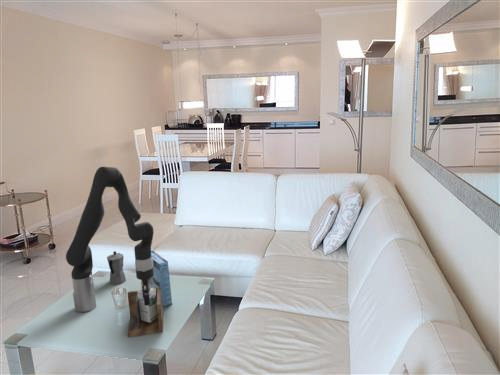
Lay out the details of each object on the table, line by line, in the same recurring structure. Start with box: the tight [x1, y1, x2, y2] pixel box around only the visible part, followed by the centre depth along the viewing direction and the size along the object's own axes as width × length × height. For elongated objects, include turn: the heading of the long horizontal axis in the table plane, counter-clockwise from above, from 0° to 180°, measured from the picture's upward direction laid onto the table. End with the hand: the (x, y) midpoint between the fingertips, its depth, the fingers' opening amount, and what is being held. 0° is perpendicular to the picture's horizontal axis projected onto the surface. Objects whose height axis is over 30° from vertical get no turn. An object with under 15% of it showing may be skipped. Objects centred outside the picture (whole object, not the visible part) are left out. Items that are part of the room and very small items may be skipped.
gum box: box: [150, 250, 173, 308], centre depth 202 cm, size 20×5×23 cm, turn 35°
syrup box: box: [137, 287, 158, 323], centre depth 179 cm, size 6×6×14 cm
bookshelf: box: [126, 288, 164, 338], centre depth 179 cm, size 15×16×14 cm
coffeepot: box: [106, 251, 127, 286], centre depth 223 cm, size 15×9×18 cm, turn 1°
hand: (147, 300), depth 178 cm, fingers closed on syrup box, 8 cm apart
